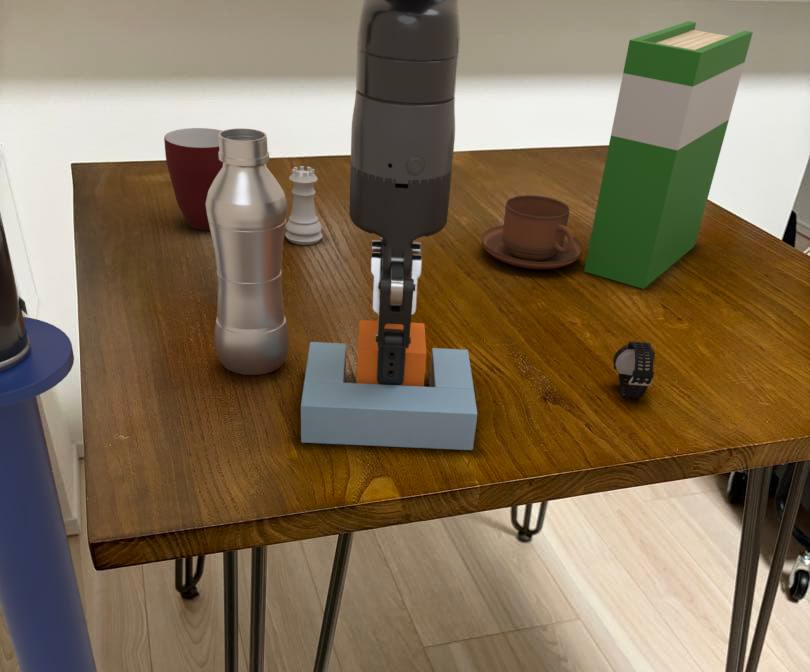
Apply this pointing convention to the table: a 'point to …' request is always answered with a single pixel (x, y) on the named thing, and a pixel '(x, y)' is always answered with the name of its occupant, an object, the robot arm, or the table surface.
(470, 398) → the light blue u-shaped block
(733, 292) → the table surface
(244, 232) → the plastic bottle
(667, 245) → the hardback book
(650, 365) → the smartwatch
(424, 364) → the orange block
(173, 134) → the mug
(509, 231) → the cup and saucer
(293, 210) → the rook chess piece
